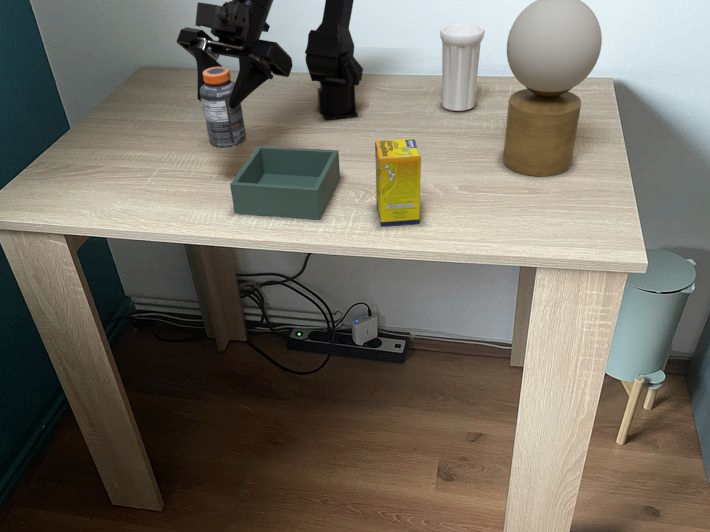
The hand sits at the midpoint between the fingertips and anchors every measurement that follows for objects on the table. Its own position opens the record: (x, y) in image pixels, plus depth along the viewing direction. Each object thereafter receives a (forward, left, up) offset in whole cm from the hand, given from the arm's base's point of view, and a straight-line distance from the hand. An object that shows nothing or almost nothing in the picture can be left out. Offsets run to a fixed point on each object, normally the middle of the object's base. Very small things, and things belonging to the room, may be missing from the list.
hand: (215, 104), depth 111 cm
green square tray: (-9, +7, -13) cm, 18 cm away
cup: (-46, -20, -14) cm, 52 cm away
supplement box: (-24, +18, -14) cm, 33 cm away
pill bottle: (-1, -1, -7) cm, 7 cm away
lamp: (-52, +5, -14) cm, 54 cm away
